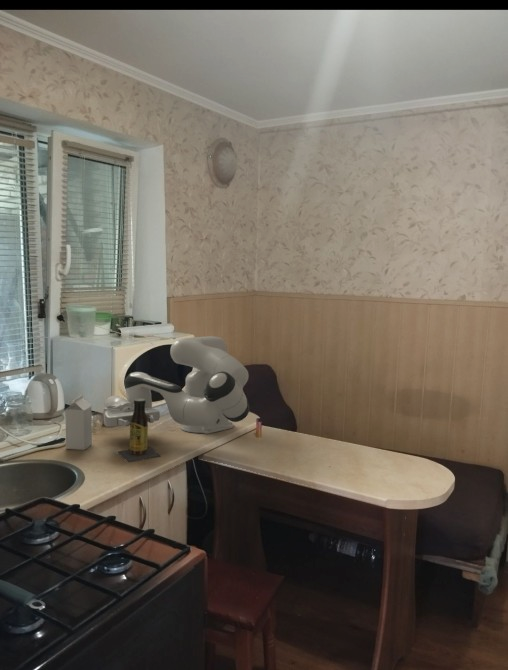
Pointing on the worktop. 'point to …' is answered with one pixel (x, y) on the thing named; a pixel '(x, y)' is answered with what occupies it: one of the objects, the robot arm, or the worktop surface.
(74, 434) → the milk carton
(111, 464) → the worktop surface
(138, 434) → the sauce bottle
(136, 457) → the mat
